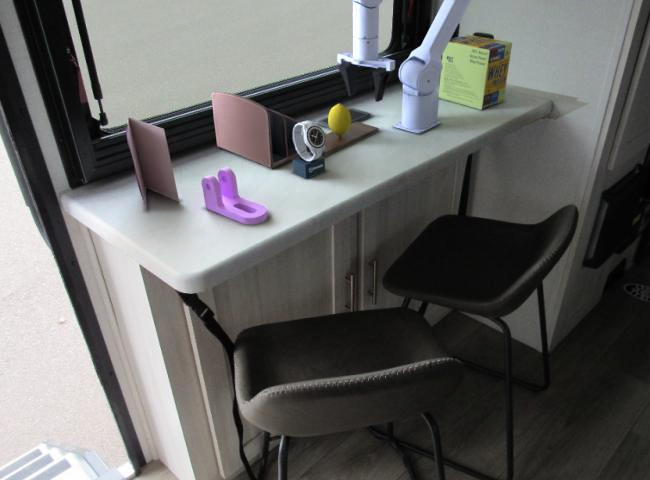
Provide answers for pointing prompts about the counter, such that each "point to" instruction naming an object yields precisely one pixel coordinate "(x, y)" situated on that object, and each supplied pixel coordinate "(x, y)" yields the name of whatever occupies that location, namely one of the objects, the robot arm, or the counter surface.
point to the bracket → (230, 199)
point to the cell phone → (355, 117)
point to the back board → (347, 137)
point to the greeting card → (151, 158)
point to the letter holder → (253, 130)
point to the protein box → (475, 71)
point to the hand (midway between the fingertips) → (365, 97)
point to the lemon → (339, 120)
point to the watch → (316, 142)
